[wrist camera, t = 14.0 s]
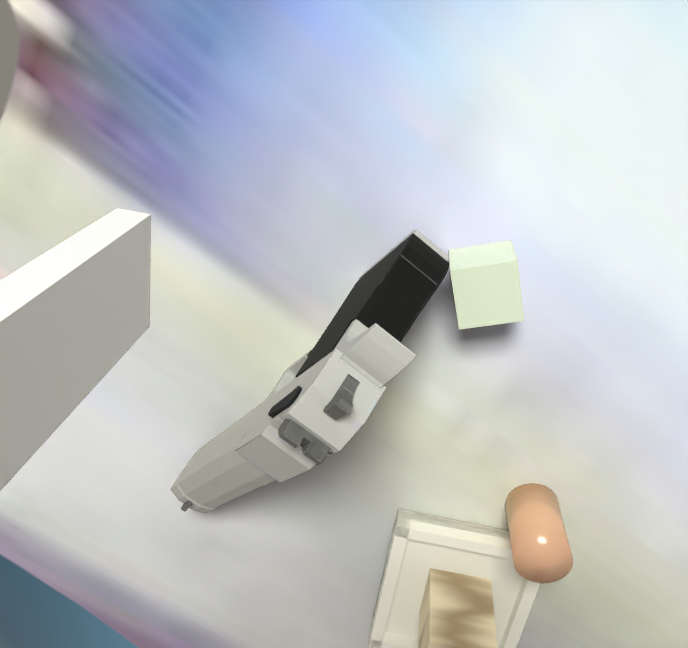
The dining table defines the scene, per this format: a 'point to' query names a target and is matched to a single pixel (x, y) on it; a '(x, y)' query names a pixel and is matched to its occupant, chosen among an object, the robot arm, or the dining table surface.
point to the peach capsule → (537, 534)
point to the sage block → (486, 285)
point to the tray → (453, 556)
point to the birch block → (457, 612)
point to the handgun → (322, 384)
